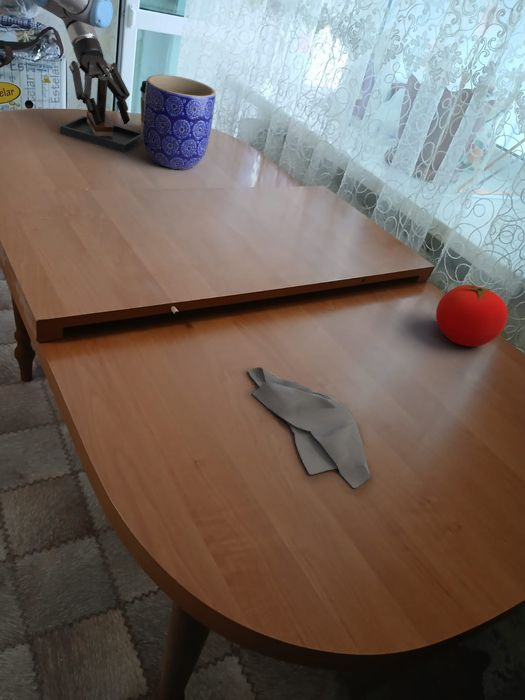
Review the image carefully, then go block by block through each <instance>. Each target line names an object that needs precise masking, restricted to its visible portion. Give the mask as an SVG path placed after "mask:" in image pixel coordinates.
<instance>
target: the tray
mask: <svg viewBox="0 0 525 700" xmlns="http://www.w3.org/2000/svg"><path fill="white" fill-rule="evenodd" d="M113 126H114V132H113V136H96V135H95V134H94V133H93V131H92V129H91V127H90V126H89V124H88V122H87V115H82V116H79V117H77V118H75V119H73V120H71V121H67V122H66V123H63V124H60V125H59V134H61V135H64V136H67V137H72V138H75V139H77V140H81V141H85V142H87V143H92V144H95V145H98V146H101V147H105V148H108V149H110V150H114V151H118V152H121V153H126V152H128V151H130V150H131V149H133V148H134V147H136V146H138V145H139V144H141V143H142V142H144V139H143V133H141V132H140V131H137V130H134V129H130V128H126V127H123V126H121V125H116V124H113Z"/></svg>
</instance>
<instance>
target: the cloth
mask: <svg viewBox="0 0 525 700" xmlns="http://www.w3.org/2000/svg"><path fill="white" fill-rule="evenodd" d="M247 373H248V374H249V376H250V378H251V380H253V382H255V384H256V385H257V386H258V388H257V389H256V390H254V391H253V392H252V395H253V396H254V398H256V399H257V400H258V401H259V402H260V403H261V404H262V405H264V406H265V407H266V408H267V409H268V410H269V411H271V412H273V413H274V414H275V415H276V416H277V417H280V418H281V419H282V420H283V421H285V423H286V424H287V425H288V426H289V427H290V430H291V432H292V433H293V434H294V442H295V447H296V449H297V452H298V455H299V457H300V460H301V461H302V465H303V466H304V468H305V469H306V471H307V474H308V475H310V476H314V475H317V474H321V473H324V472H328V471H334V470H338V473H339V475H340V476H341V477H342V478H343V479H344V480H345V481H346V482H347V484H348V485H349V486H350V487H351V488H352V489H355V490H356V489H358V488H359V487H360V486H362V485H363V484H364V483H365V482H367V481H368V480H369V479H370V478H371V472H370V469H369V465H368V462H367V457H366V453H365V449H364V445H363V440H362V438H361V433H360V430H359V427H358V424H357V421H356V418H355V416H354V413H353V411H352V410H351V409H350V408H349V406H348V405H347V404H345V403H340V402H338V400H336V399H335V398H334V397H332V396H329V395H327V394H325V393H321V392H320V391H317V390H314V389H312V388H309V387H308V386H306V385H304V384H300V383H298V382H296V381H292V380H288V379H285V378H281V377H279V376H278V375H277V374H275V373H273V372H270V371H269V370H266V369H264V368H263V367H261V366H257V367H254V368H253V367H252V368H251V369H249V370H247Z"/></svg>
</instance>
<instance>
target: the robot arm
mask: <svg viewBox="0 0 525 700" xmlns="http://www.w3.org/2000/svg"><path fill="white" fill-rule="evenodd" d="M30 1H31V2H32V3H34V4H35V5H36V7H39V8H42V9H43V10H45V11H47V12H49V13H51V14H52V15H54V16H55V17H57V18H59V19H60V20H62V22H63V24H64V27H65V29H66V33H67V35H68V38H69V41H70V44H71V46H72V49H73V53H74V56H75V58H76V60H77V61H76V60H72V61H71V62H70V64H69V66H68V68H69V70H70V72H71V74H72V79H73V86H74V91H75V97H76V100H77V101H82V103H83V104H84V105H85V106H86V109H87V112H89V113H92V116H93V119H94V122H95V125H96V126H98V125H99V124H100V123H101V121H102V120H101V117H100V114H99V111H98V108H97V105H96V103H97V102H96V100H95V98H94V97H92V84H93V79H98V76H105V77H107V78H108V82H107V89H108V90H109V91H110V92H111V93H112V95H113V96H114V98H115V99H116V100H117V101H116V106H117V109H118V111H119V115H120V118H121V120H122V123H123V125H124V126H125V125H127V124H128V123H129V122H130V121H131V119H130V116H129V113H128V110H129V106H128V103H127V101H126V100H127V99H128V98H129V97H130V95H131V93H130V91H129V90H128V87H127V86H126V84H125V82H124V80H123V77H122V75H121V74H120V72H119V69H118V65H117V63H116V62H112V63H108V61H106V60H105V57H104V51H103V49H102V46H101V43H100V40H99V37H98V34H97V31H96V29H95V28H98V29H106V28H108V27H109V25H110V24H111V23H112V19H113V16H114V7H113V2H112V1H111V0H30ZM80 70H81V71H82V72H83V73H84V77H83V78H84V85H83V82H82V81H83V80H82V75H81V71H80Z"/></svg>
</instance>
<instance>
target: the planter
mask: <svg viewBox="0 0 525 700" xmlns="http://www.w3.org/2000/svg"><path fill="white" fill-rule="evenodd" d="M145 81H146V90H145V102H144V120H143V139H144V141H143V145H144V148H145V151H146V152H147V155H148V156H149V158H150V159H151V160H152V161H153V162H154V163H156V164H158V165H159V166H162V167H163V168H167V169H172V170H190V169H192V168H194V167H196V166H197V165H198V164H199V163H200V162H201V161H202V160H203V158H204V157H205V155H206V152H207V149H208V146H209V140H210V136H211V131H212V124H213V119H214V111H215V106H216V105H215V104H216V98H217V97H216V96H217V93H216V91H215V89H214V88H213V87H211V86H209V85H207V84H205V83H204V82H201V81H198V80H194V79H192V78H187V77H184V76H183V77H182V76H176V75H171V74H155V75H150V76H148V77H147V78H146V80H145Z"/></svg>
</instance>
